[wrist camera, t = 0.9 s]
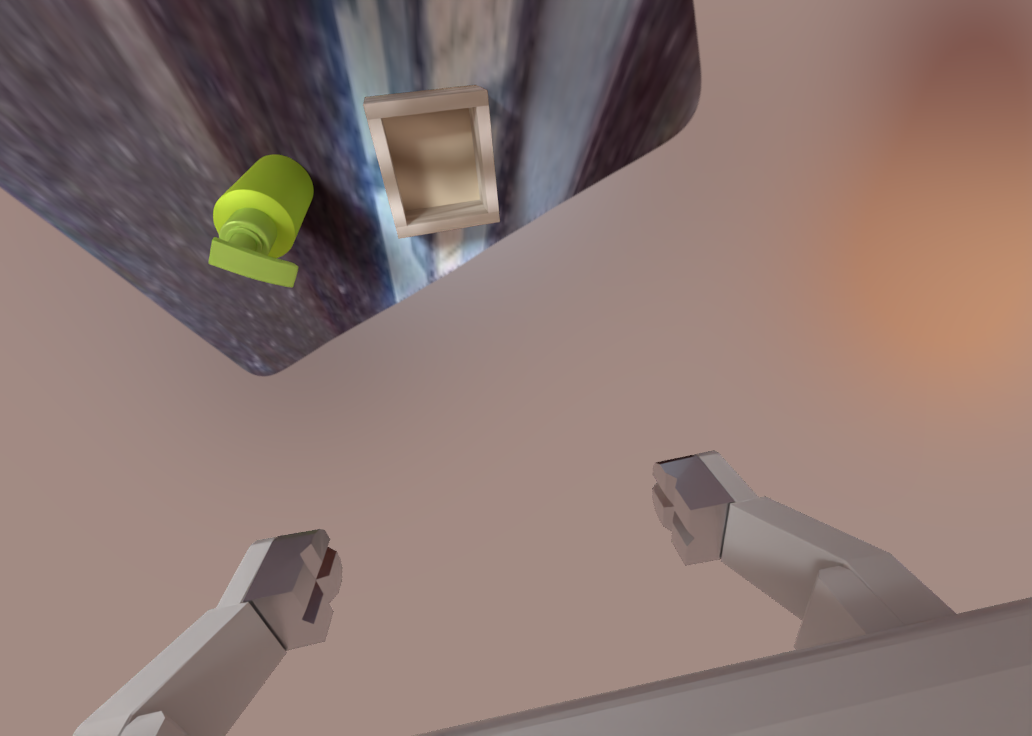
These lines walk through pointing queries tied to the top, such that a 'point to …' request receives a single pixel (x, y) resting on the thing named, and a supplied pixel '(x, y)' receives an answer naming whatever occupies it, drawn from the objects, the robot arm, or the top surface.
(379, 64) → the top surface
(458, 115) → the box
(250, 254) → the soap dispenser
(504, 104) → the top surface
